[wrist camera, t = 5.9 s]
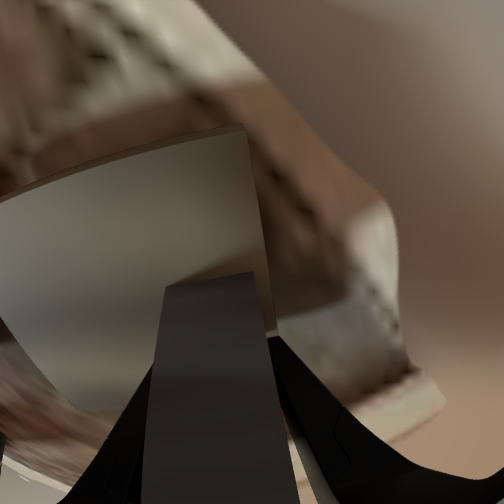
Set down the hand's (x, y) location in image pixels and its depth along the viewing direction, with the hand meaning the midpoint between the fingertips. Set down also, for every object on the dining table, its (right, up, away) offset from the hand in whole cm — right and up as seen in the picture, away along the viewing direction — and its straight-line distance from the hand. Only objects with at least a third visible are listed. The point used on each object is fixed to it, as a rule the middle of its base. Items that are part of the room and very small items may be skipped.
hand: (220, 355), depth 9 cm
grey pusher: (-4, +1, +3) cm, 5 cm away
